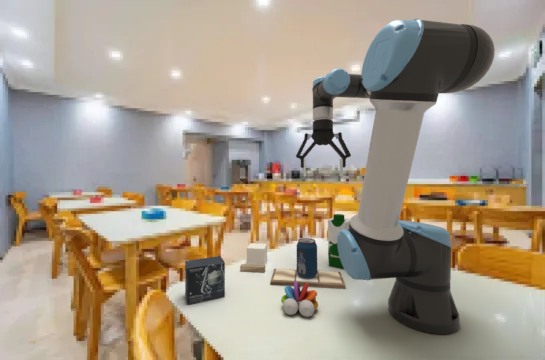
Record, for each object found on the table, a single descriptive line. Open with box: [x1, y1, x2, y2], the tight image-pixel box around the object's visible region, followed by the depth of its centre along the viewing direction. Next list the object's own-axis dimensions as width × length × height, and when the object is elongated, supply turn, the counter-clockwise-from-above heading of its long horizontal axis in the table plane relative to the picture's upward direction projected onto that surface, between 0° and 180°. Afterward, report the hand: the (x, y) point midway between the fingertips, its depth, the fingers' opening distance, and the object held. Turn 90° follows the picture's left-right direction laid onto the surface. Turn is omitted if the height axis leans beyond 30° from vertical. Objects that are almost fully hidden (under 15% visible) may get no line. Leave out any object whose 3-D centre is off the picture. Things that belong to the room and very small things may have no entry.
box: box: [184, 255, 226, 306], centre depth 72 cm, size 11×7×10 cm, turn 115°
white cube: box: [246, 242, 268, 266], centre depth 98 cm, size 7×7×7 cm
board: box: [269, 268, 346, 290], centre depth 83 cm, size 11×24×1 cm, turn 83°
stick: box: [239, 263, 266, 274], centre depth 90 cm, size 2×9×2 cm, turn 83°
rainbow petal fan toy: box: [280, 281, 319, 318], centre depth 64 cm, size 8×10×7 cm
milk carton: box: [327, 213, 351, 270], centre depth 96 cm, size 9×9×20 cm
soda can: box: [296, 237, 318, 279], centre depth 83 cm, size 7×7×12 cm
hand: (322, 176), depth 93 cm, fingers open, 13 cm apart
